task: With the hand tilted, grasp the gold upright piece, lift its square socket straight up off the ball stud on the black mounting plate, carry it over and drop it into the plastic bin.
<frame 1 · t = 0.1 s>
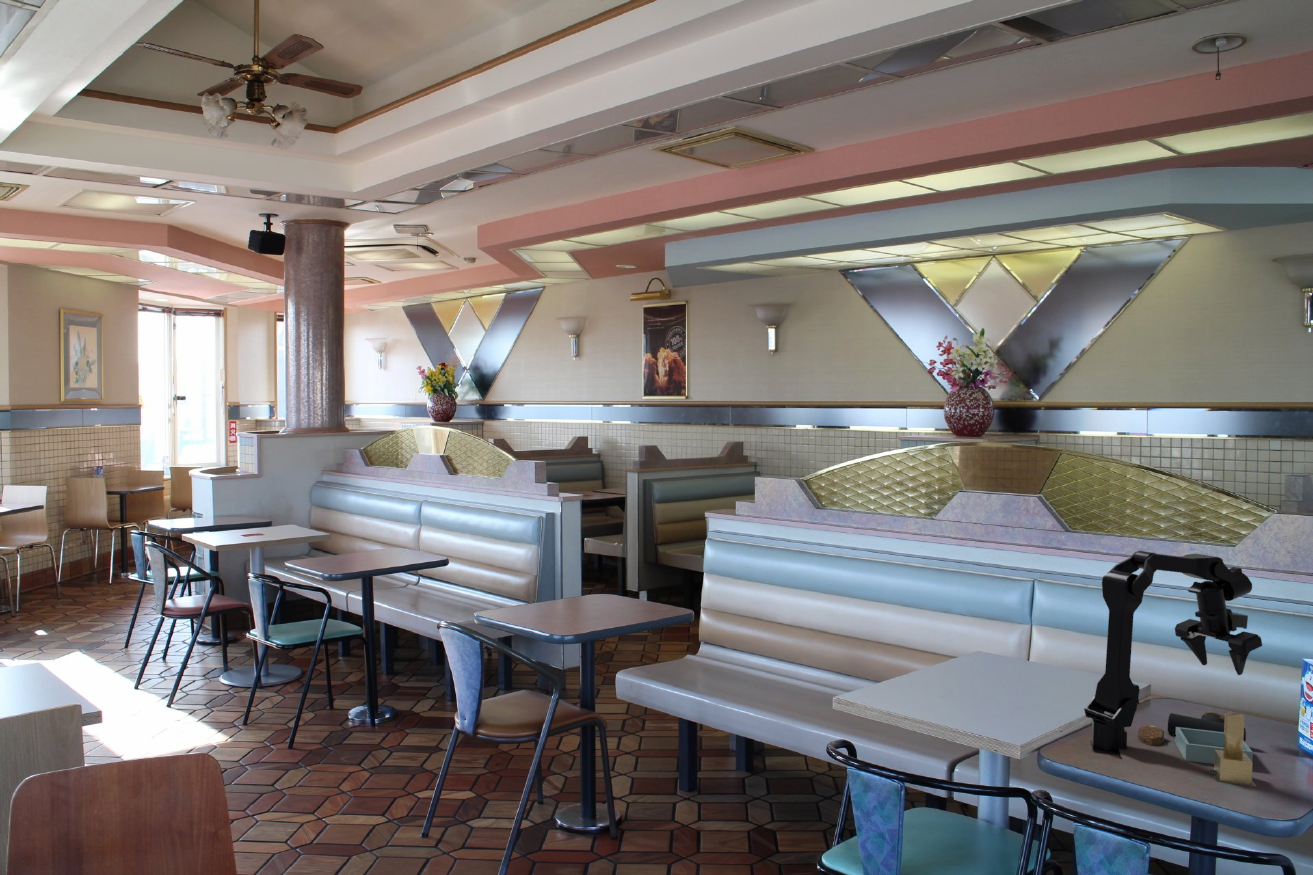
hand: (1222, 669, 224), 15 cm above the table, tool pointing down, fingers open, 9 cm apart
gold upright piece: (1232, 777, 194), point 1 cm above the table, touching mount
bin: (1212, 759, 207), on the table
mount: (1232, 782, 194), on the table
pipe connector: (1209, 739, 222), on the table
ice cream bar: (1151, 741, 219), on the table
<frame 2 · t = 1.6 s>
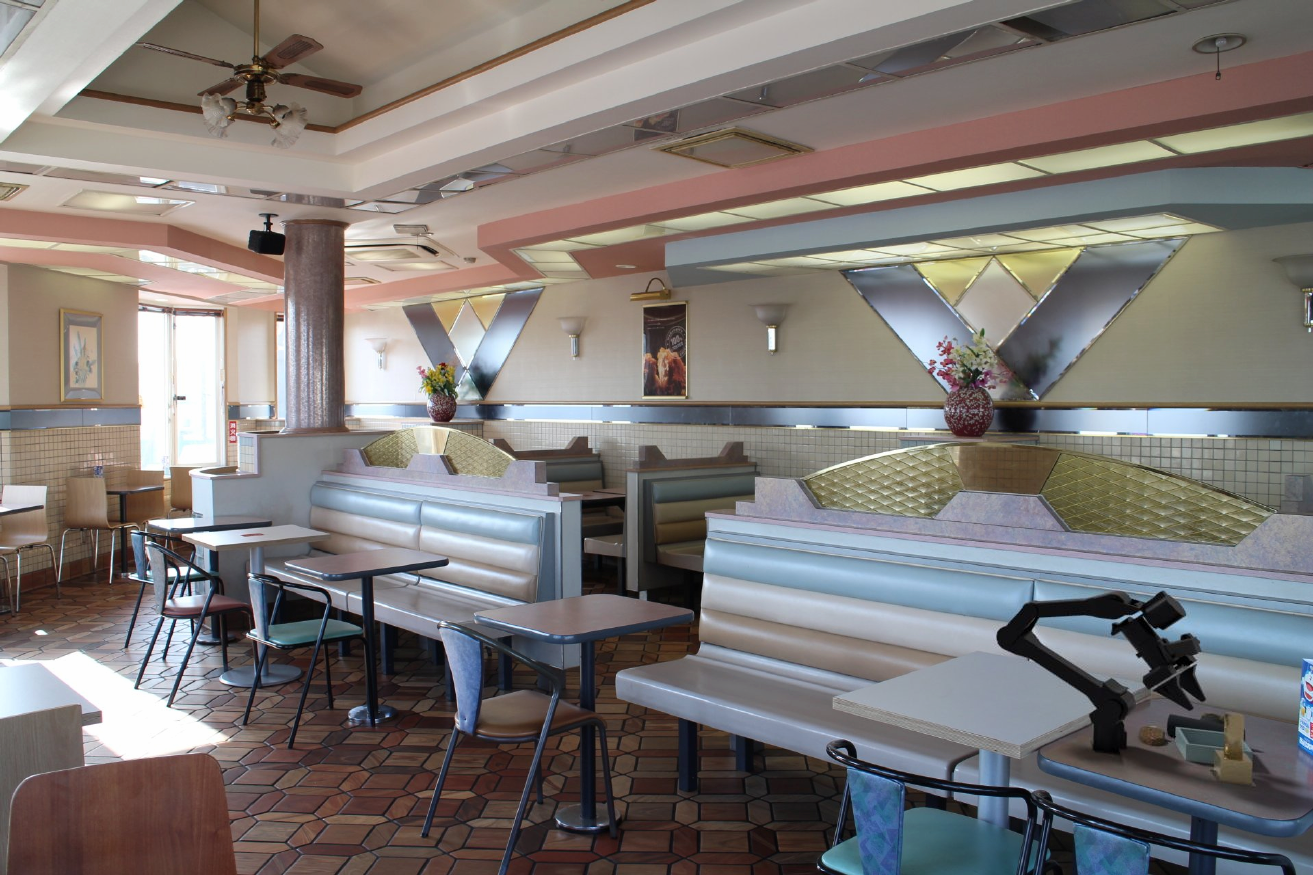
hand: (1198, 705, 200), 14 cm above the table, tool tilted 40°, fingers open, 9 cm apart
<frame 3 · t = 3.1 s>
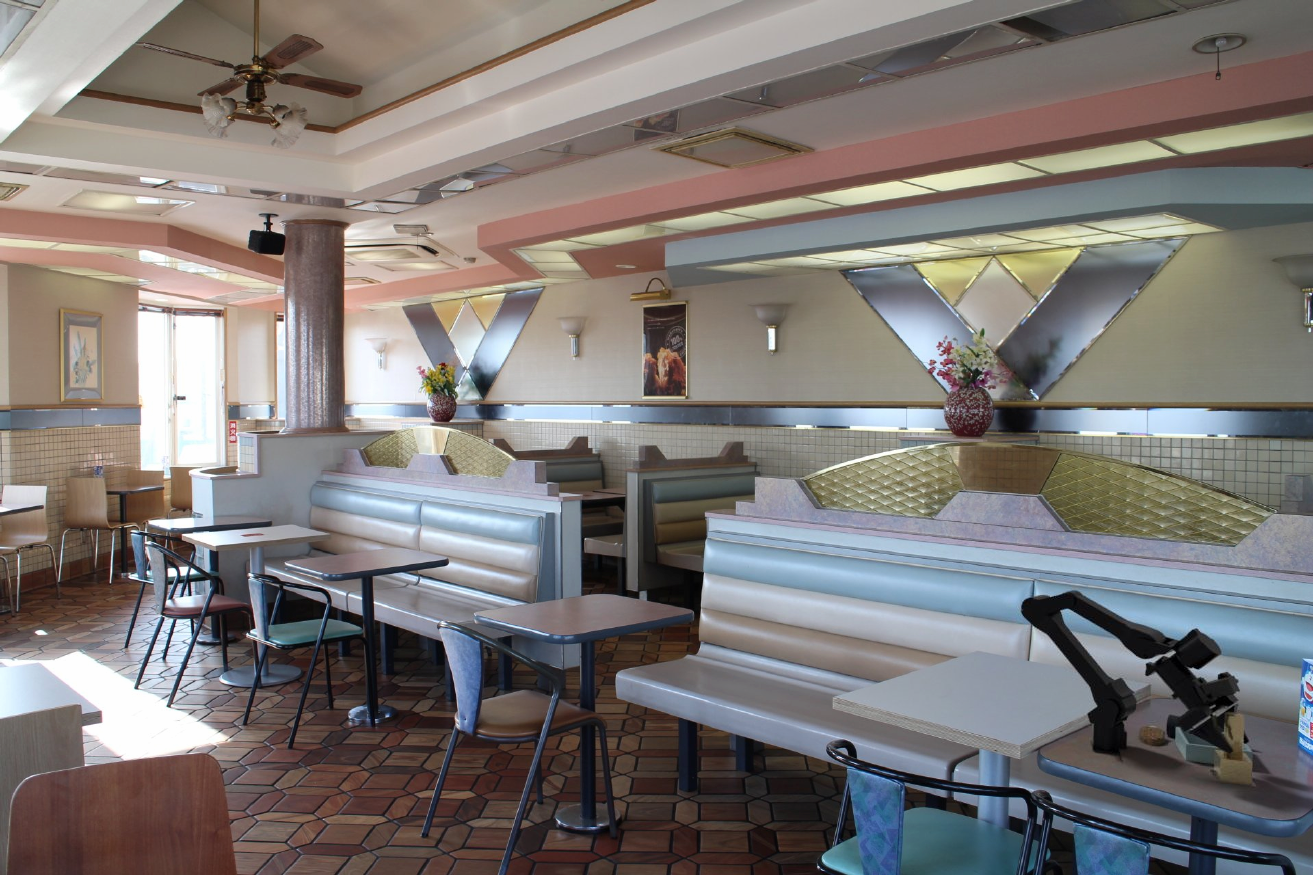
hand: (1239, 747, 193), 8 cm above the table, tool tilted 45°, fingers open, 9 cm apart
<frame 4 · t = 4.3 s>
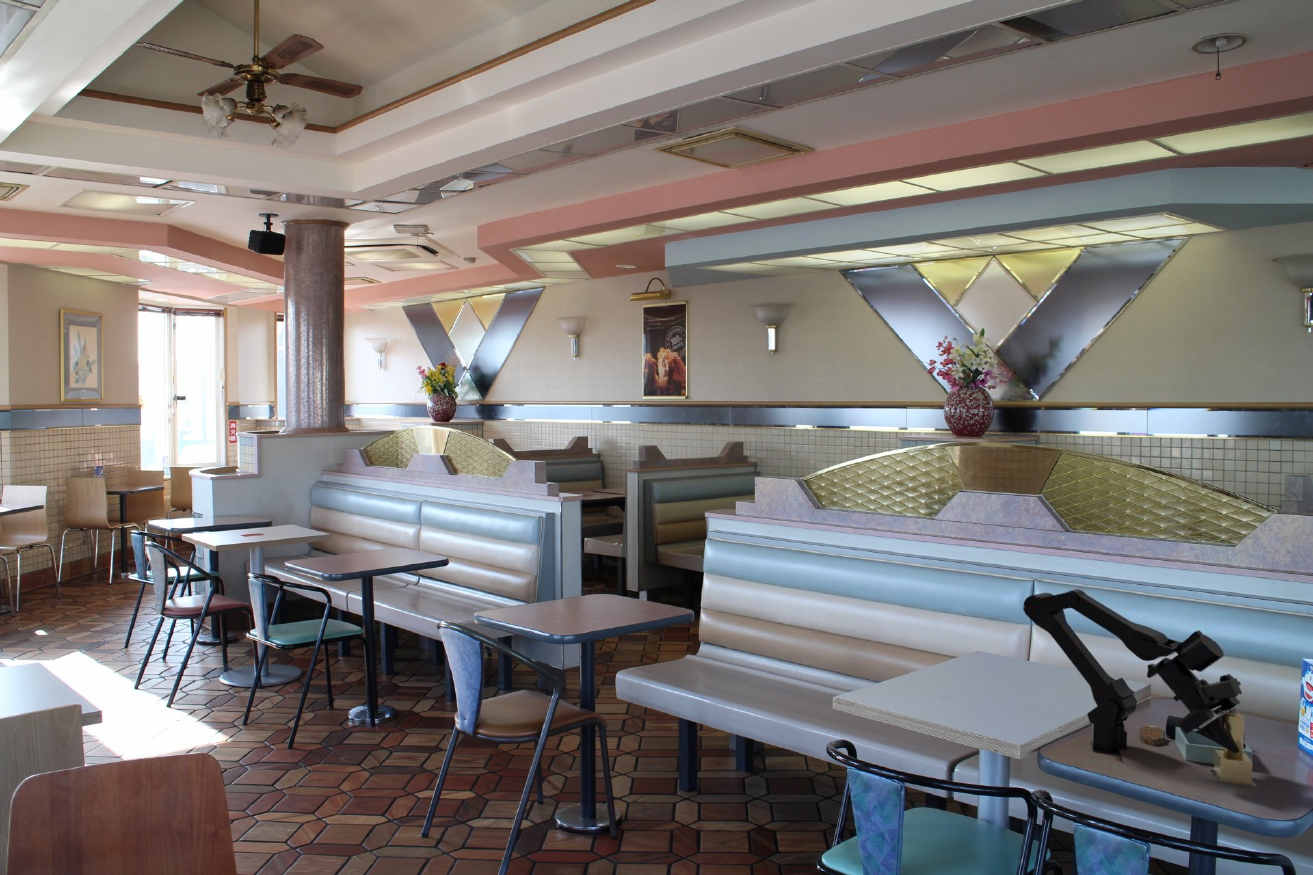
hand: (1241, 749, 192), 7 cm above the table, tool tilted 45°, fingers closed on gold upright piece, 3 cm apart
gold upright piece: (1232, 777, 194), point 1 cm above the table, touching gripper, mount
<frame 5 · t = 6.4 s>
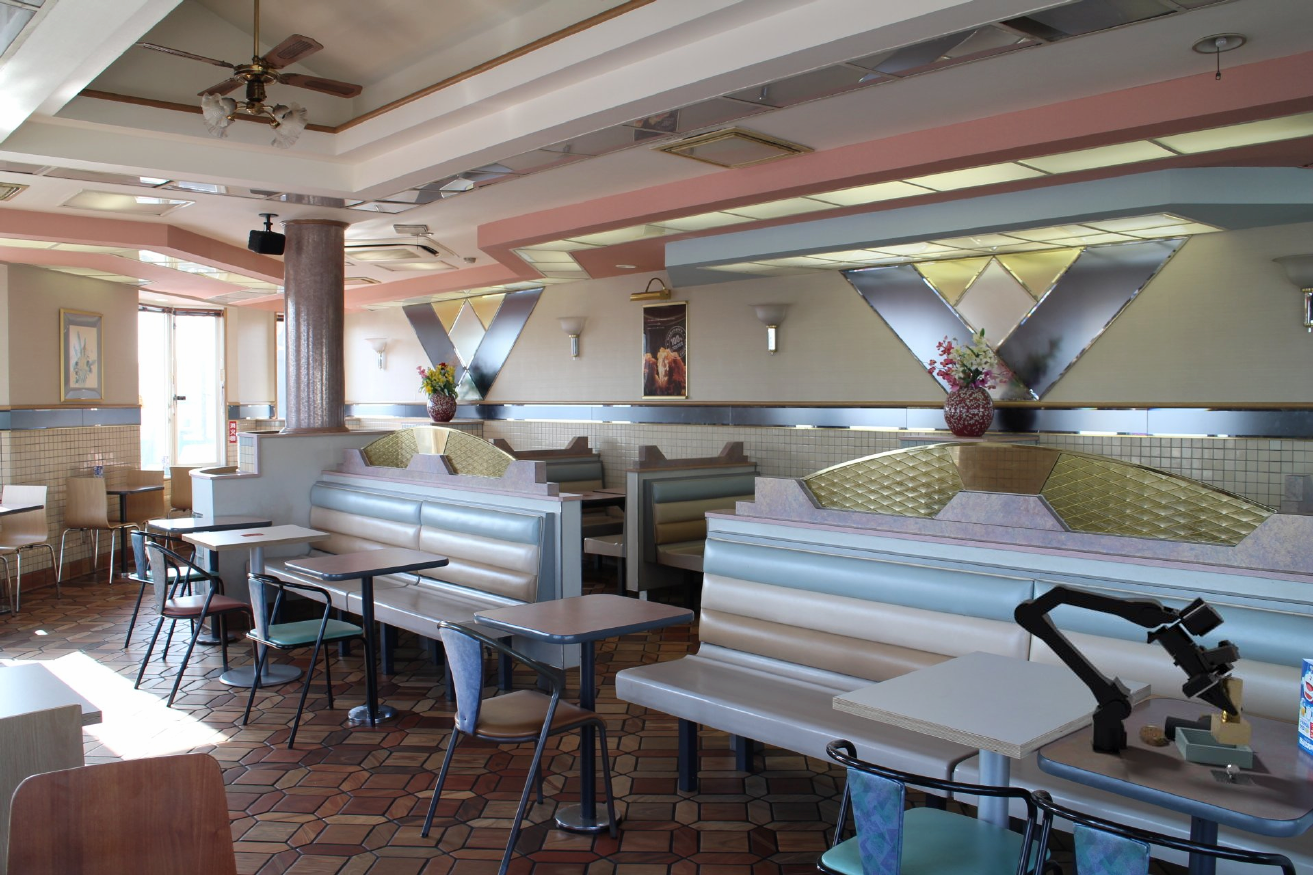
hand: (1238, 713, 197), 13 cm above the table, tool tilted 45°, fingers closed on gold upright piece, 3 cm apart
gold upright piece: (1229, 740, 198), point 7 cm above the table, touching gripper
when the fingers open (8 cm above the table, at t = 8.7 s): gold upright piece drops 1 cm, resting on bin.
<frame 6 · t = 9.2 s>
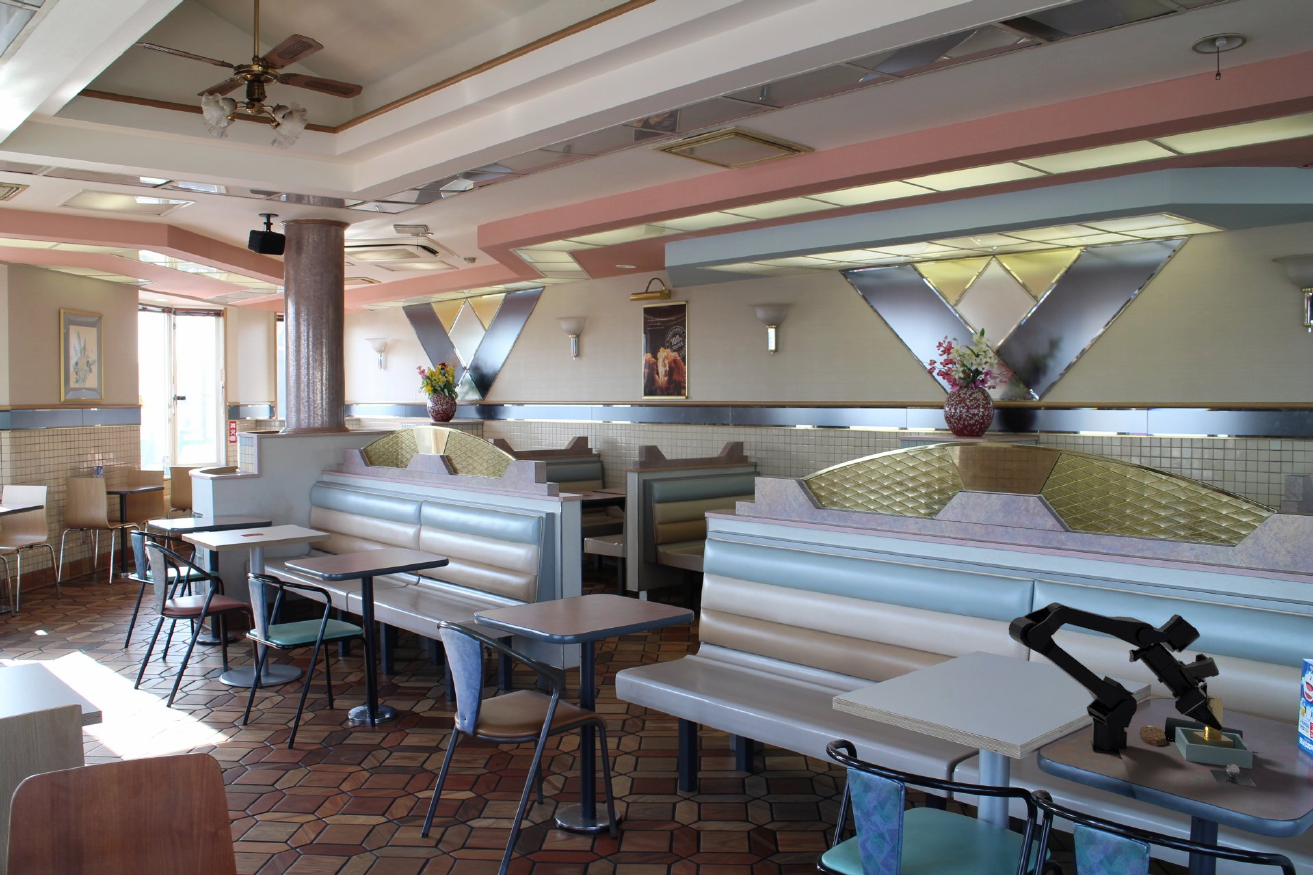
hand: (1220, 723, 206), 8 cm above the table, tool tilted 45°, fingers open, 9 cm apart
gold upright piece: (1212, 756, 207), point 1 cm above the table, touching bin
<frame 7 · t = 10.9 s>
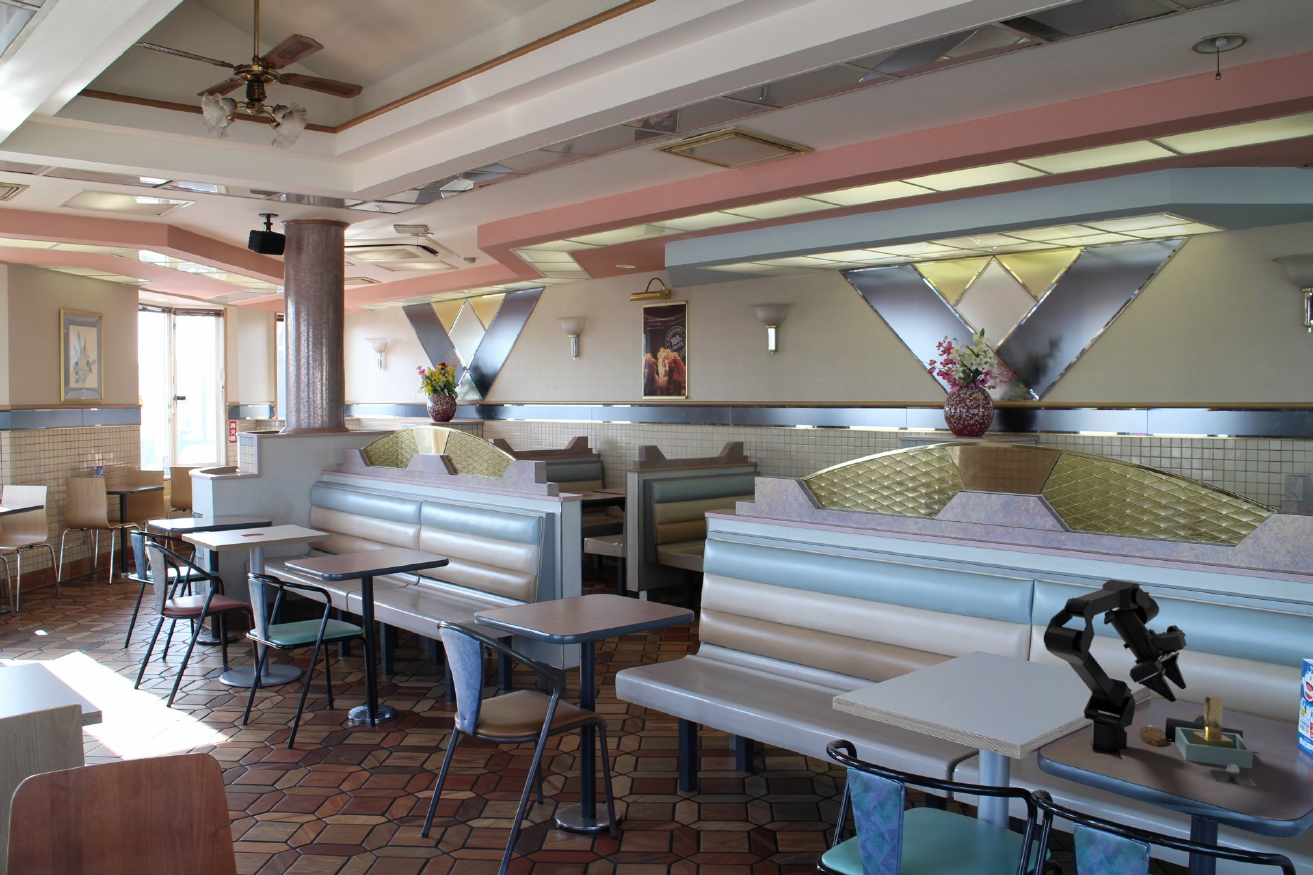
hand: (1179, 694, 210), 13 cm above the table, tool tilted 35°, fingers open, 9 cm apart
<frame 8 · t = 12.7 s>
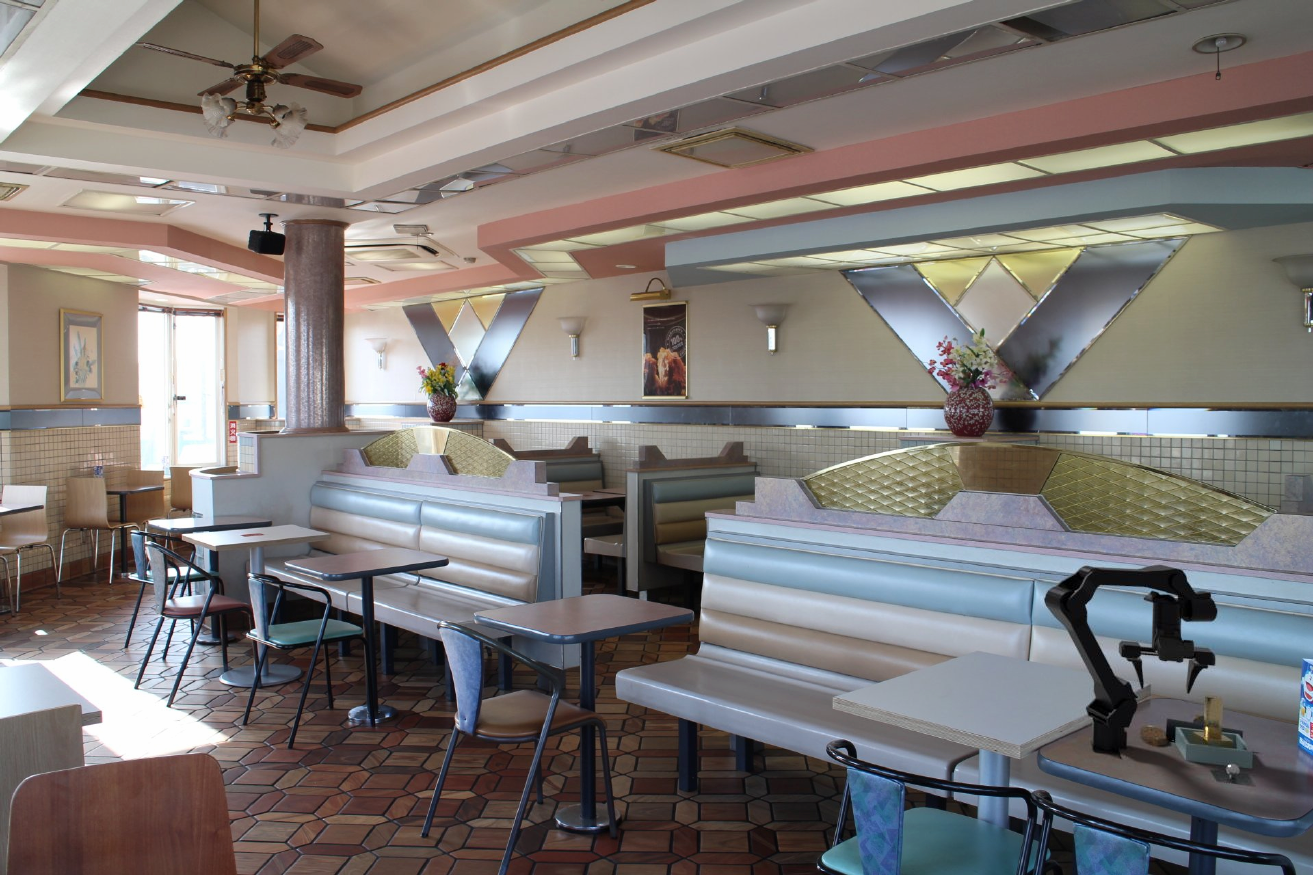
hand: (1164, 690, 214), 13 cm above the table, tool pointing down, fingers open, 9 cm apart
at the end: gold upright piece inside the target area on the bin (0.0 cm from its centre), point 0.6 cm above the bin's base; the gripper is holding nothing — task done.
